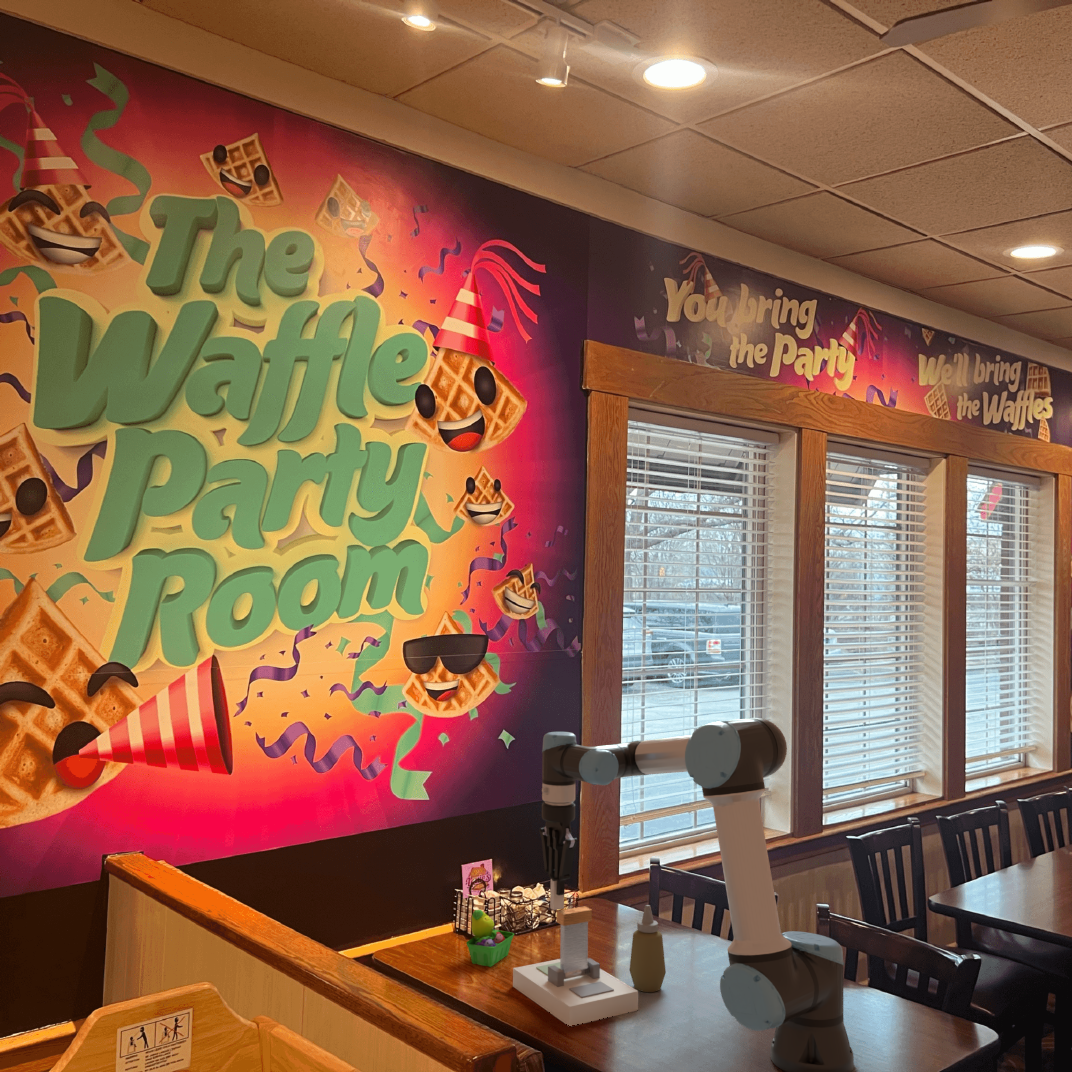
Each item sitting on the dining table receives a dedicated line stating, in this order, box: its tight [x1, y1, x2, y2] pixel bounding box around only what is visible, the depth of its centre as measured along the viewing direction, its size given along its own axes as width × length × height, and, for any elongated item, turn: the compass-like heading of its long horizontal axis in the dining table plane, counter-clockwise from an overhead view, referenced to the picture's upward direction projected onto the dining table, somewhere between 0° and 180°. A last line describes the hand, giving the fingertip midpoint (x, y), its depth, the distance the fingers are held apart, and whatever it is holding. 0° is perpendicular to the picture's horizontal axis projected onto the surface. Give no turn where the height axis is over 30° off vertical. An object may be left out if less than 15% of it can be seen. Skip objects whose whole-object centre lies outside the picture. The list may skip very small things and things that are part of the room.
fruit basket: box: [465, 909, 515, 968], centre depth 245 cm, size 11×9×11 cm
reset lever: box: [556, 905, 593, 979], centre depth 222 cm, size 3×7×14 cm, turn 120°
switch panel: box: [512, 957, 639, 1027], centre depth 221 cm, size 24×17×7 cm
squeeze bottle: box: [629, 904, 666, 993], centre depth 228 cm, size 8×8×18 cm
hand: (557, 908), depth 228 cm, fingers closed
